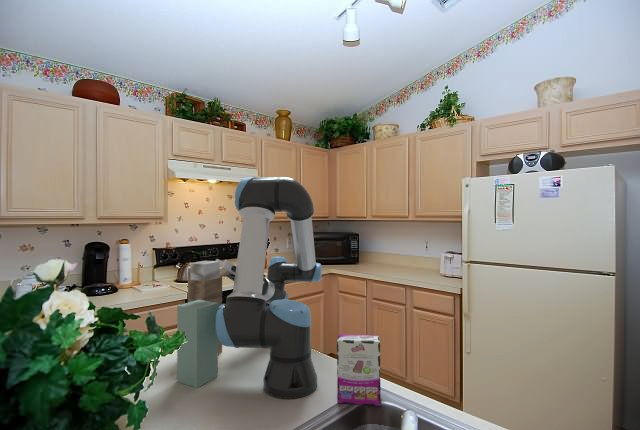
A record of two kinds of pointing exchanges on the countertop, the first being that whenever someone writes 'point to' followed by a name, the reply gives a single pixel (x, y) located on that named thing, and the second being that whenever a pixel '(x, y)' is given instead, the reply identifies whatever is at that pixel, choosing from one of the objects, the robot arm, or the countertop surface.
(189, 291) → the walnut pillar
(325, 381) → the countertop surface
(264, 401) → the countertop surface
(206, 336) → the sage block
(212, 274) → the meat mallet
